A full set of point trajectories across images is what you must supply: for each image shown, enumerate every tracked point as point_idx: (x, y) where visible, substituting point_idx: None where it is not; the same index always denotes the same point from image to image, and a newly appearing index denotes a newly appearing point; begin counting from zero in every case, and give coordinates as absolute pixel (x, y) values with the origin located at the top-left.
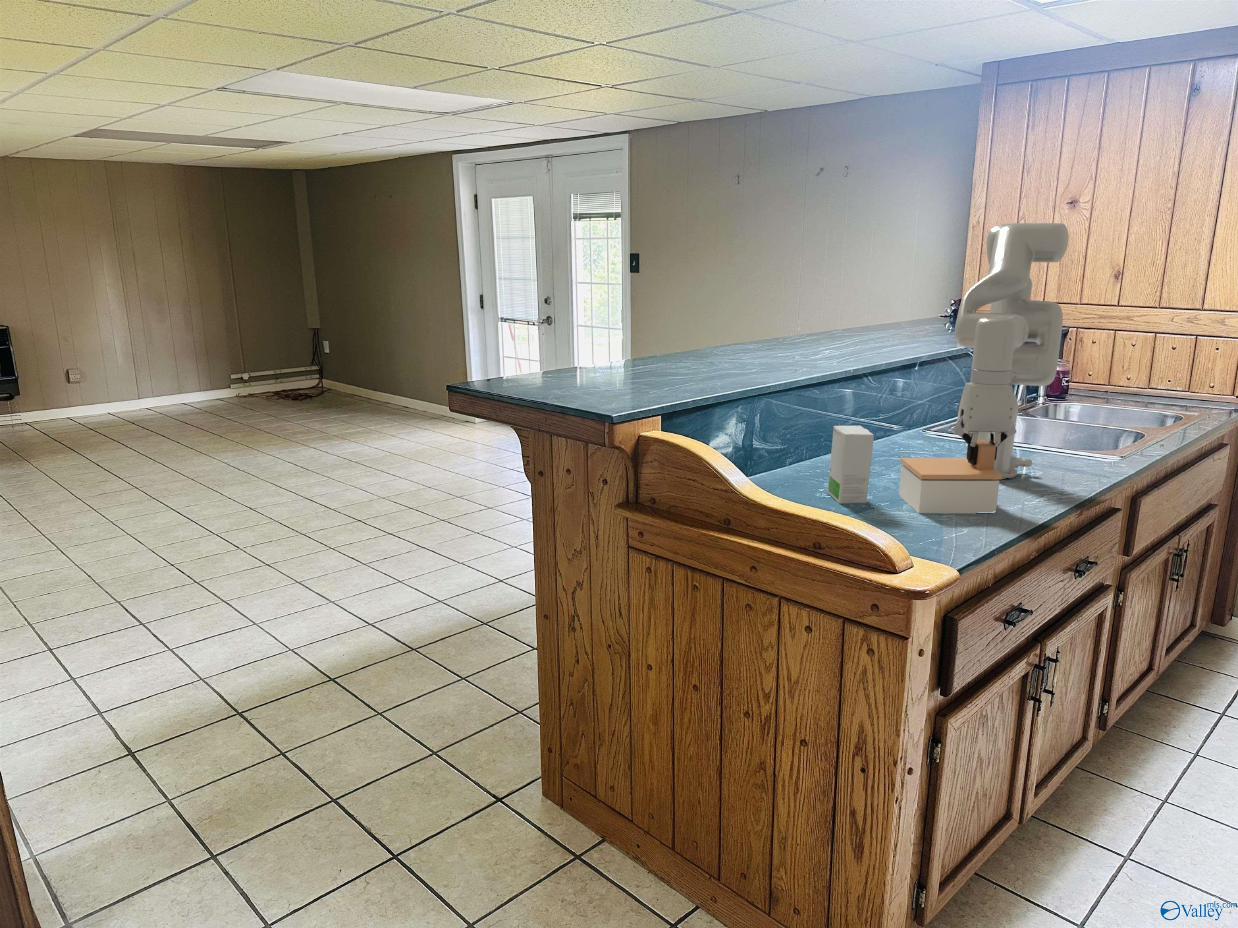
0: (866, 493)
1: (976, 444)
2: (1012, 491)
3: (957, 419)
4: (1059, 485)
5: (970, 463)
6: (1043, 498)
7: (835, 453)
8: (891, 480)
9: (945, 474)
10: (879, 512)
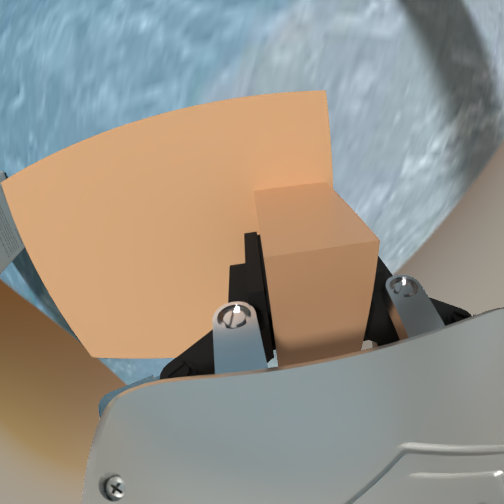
0: (20, 251)
1: (271, 352)
2: (410, 63)
3: (91, 457)
4: (495, 45)
5: (258, 224)
6: (452, 130)
7: None
8: (78, 11)
9: (148, 357)
10: None
